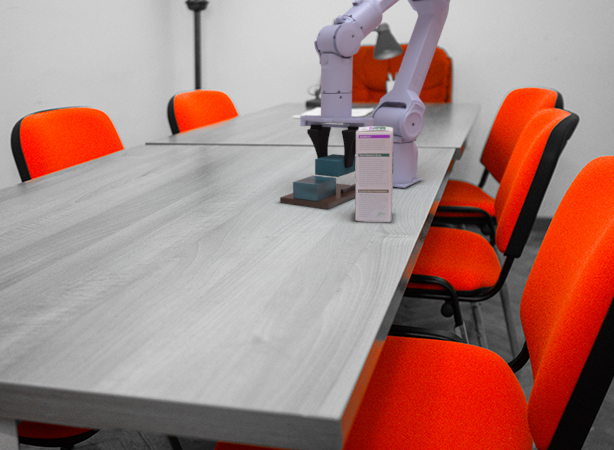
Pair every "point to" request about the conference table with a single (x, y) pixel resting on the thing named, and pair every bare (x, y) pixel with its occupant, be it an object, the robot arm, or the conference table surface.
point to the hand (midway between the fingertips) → (335, 165)
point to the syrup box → (374, 174)
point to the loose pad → (332, 166)
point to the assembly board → (323, 202)
